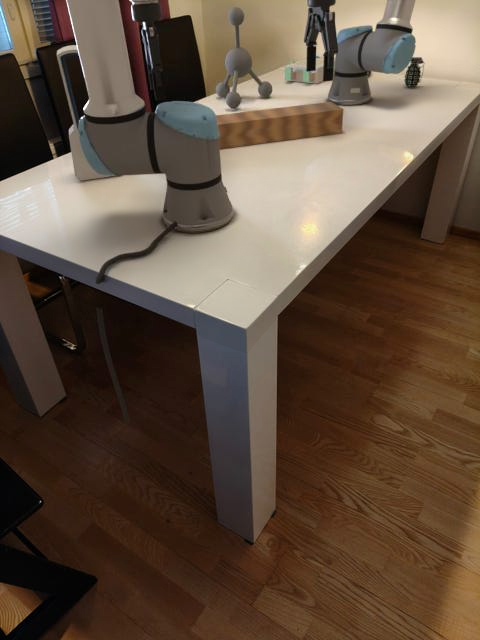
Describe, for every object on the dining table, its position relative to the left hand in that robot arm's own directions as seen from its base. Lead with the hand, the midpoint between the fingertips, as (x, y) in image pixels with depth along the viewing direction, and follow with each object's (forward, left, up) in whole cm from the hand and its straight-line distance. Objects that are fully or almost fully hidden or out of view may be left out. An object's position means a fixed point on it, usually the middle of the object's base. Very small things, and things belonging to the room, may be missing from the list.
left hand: (158, 94), depth 134 cm
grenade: (+94, -49, -16) cm, 108 cm away
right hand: (+32, -35, 0) cm, 47 cm away
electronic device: (-22, +7, -16) cm, 27 cm away
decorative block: (+99, -6, -16) cm, 101 cm away
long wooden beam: (+16, -17, -16) cm, 28 cm away
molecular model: (+57, +4, -16) cm, 59 cm away
